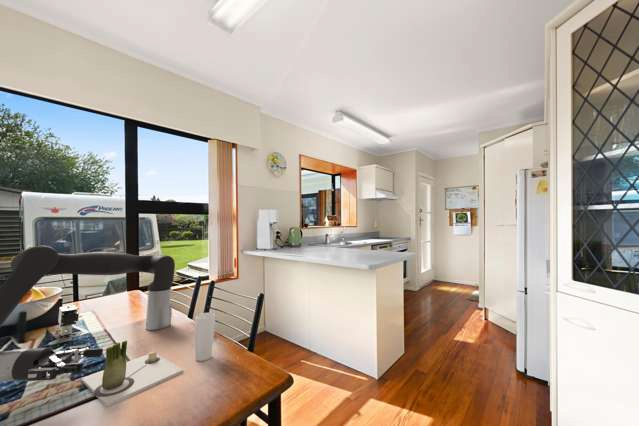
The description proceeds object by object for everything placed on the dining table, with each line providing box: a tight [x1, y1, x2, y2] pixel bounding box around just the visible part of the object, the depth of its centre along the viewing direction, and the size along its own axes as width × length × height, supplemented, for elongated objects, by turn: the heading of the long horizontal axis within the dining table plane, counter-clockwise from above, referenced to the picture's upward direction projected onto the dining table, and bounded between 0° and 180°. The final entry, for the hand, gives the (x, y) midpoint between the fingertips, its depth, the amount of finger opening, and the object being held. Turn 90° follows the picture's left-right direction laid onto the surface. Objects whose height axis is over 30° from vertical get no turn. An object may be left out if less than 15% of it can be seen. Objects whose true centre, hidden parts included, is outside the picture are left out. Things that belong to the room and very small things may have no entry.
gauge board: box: [80, 350, 184, 408], centre depth 80 cm, size 20×20×3 cm
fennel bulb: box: [102, 339, 128, 390], centre depth 74 cm, size 6×5×12 cm
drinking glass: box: [194, 312, 216, 362], centre depth 93 cm, size 7×7×15 cm
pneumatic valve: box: [57, 304, 80, 337], centre depth 111 cm, size 6×12×12 cm, turn 50°
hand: (92, 359), depth 73 cm, fingers open, 8 cm apart
